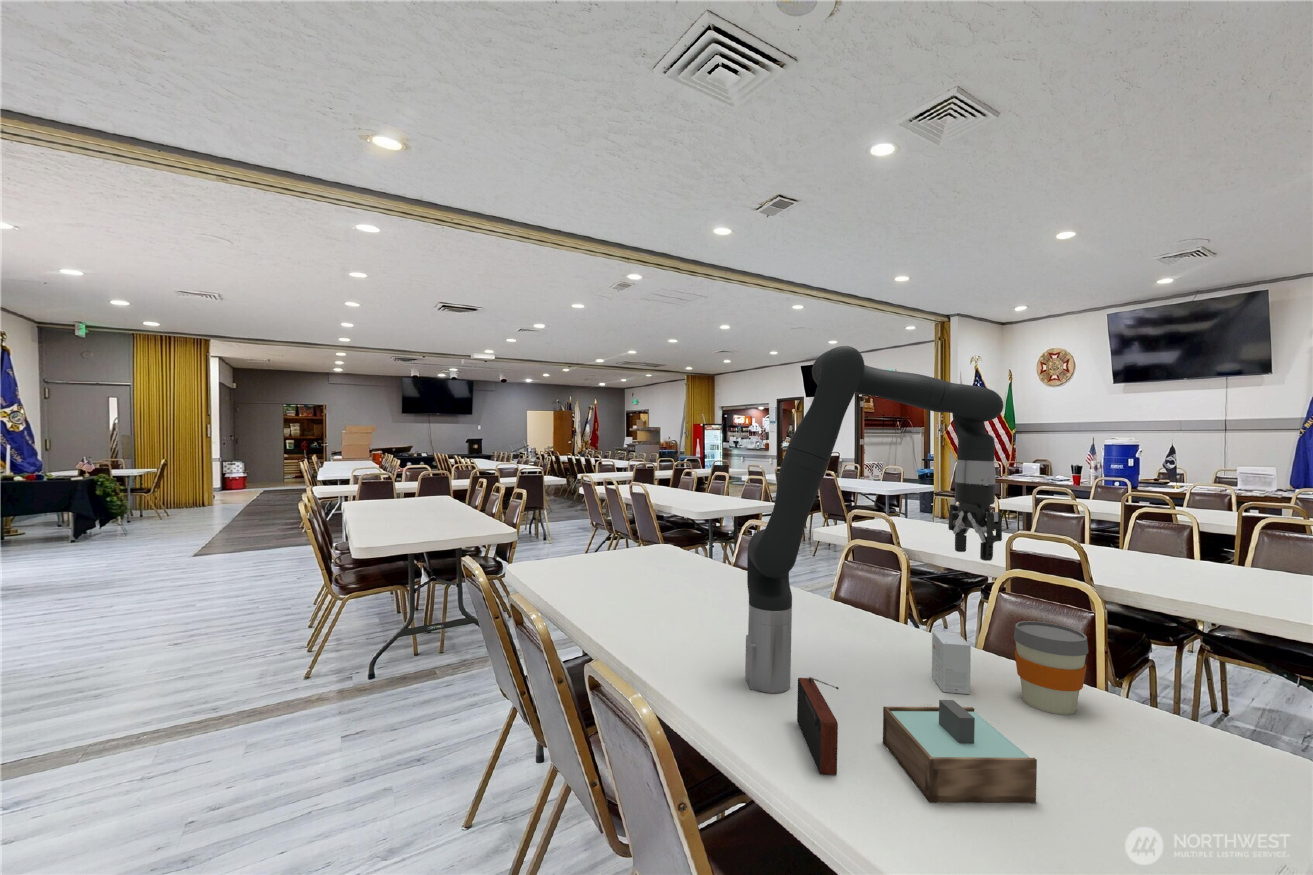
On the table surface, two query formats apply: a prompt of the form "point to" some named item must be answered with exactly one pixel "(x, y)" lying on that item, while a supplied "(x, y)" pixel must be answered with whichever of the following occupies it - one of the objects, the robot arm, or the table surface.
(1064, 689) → the reusable coffee cup
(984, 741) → the cover plate
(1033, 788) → the walnut box
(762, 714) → the table surface
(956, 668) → the small box
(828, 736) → the radio
